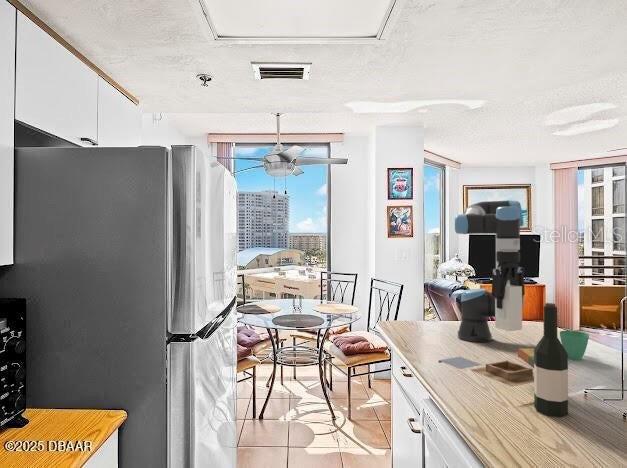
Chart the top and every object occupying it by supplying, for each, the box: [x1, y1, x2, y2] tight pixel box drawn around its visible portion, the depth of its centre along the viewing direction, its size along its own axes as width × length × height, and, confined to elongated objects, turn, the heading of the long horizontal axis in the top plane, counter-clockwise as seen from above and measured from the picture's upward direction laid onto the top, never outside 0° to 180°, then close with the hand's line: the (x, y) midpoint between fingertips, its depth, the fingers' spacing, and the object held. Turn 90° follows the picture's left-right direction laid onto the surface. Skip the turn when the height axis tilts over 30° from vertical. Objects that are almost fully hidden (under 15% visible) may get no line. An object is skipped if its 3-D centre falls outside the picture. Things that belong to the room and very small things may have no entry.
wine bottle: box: [533, 302, 569, 418], centre depth 115 cm, size 8×8×30 cm
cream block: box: [494, 284, 523, 332], centre depth 144 cm, size 6×6×15 cm
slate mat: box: [438, 356, 483, 370], centre depth 156 cm, size 11×11×1 cm
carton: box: [517, 348, 534, 369], centre depth 156 cm, size 8×16×4 cm, turn 174°
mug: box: [559, 329, 590, 361], centre depth 165 cm, size 15×10×10 cm
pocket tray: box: [470, 360, 534, 388], centre depth 143 cm, size 18×18×3 cm
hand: (508, 316), depth 144 cm, fingers closed on cream block, 6 cm apart
